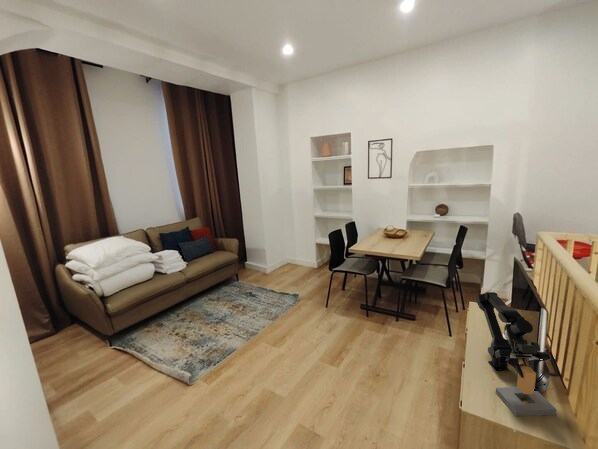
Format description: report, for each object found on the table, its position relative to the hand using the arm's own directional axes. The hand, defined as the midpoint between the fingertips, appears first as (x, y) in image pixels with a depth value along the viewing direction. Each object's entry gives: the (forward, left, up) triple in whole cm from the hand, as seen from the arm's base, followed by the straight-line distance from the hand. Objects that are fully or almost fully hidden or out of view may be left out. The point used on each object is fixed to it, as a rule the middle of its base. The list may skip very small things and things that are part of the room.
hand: (528, 378), depth 114 cm
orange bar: (-1, 0, -7) cm, 7 cm away
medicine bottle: (-35, +18, -14) cm, 42 cm away
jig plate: (-1, 0, -13) cm, 14 cm away
